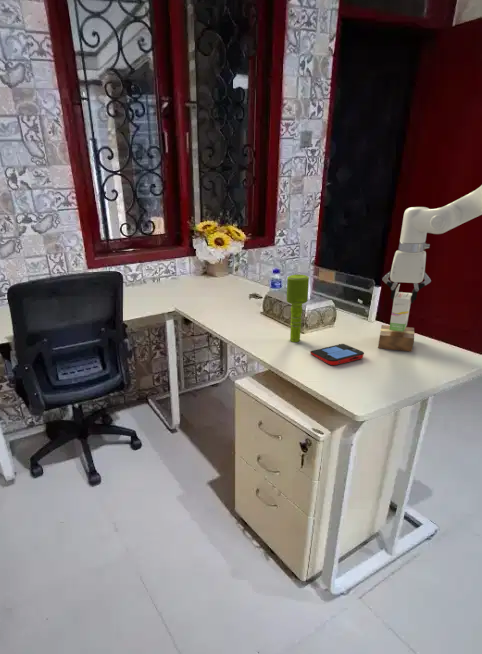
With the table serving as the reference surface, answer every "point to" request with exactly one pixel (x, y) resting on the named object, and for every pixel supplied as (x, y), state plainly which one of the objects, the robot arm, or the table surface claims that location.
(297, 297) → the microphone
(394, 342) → the cardboard box
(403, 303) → the ink box
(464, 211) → the robot arm
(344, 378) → the table surface
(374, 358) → the table surface
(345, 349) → the game console
